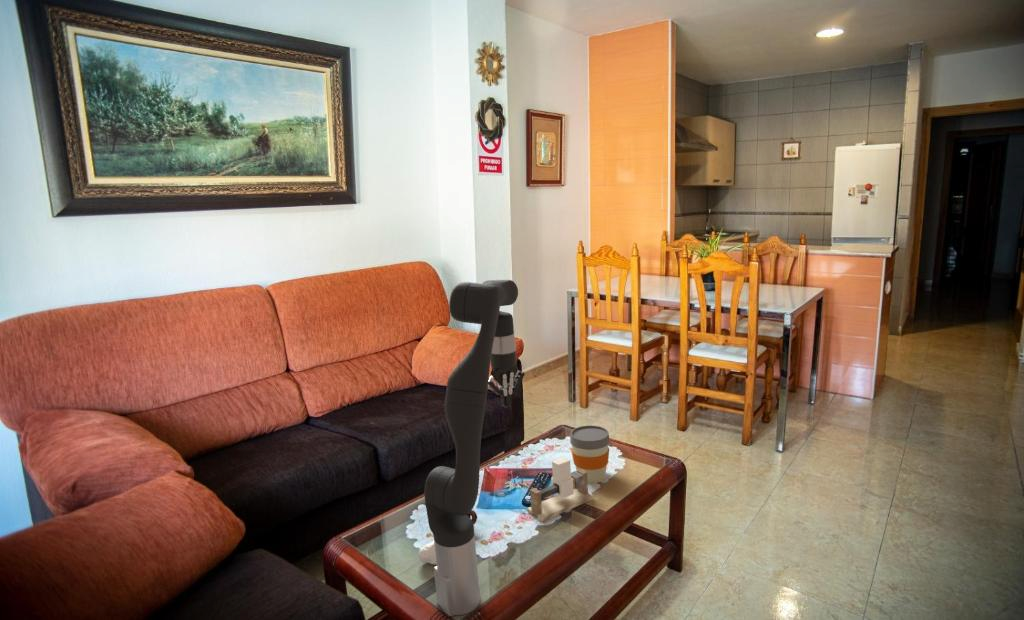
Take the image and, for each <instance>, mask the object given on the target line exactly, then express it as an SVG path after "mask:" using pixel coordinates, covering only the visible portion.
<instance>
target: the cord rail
mask: <svg viewBox="0 0 1024 620" xmlns="http://www.w3.org/2000/svg"><path fill="white" fill-rule="evenodd" d="M571 478H572V479H573V490H574V494H572V495H570V496H568V497H565V498H563V499H561V498H560V497H558V496H557V495H555V494H556V493H558V492H560V491H559V485H557V484H554V485H549V486H547V487H544V488H543V489H540V490H539V489H537V488H536V487H532V488H530V490H529V493H530V496H529V497H530V506H529V507H527V508H526V509H527V513H529V514H530V515H532V516H533V517H534V516H535V517H534V518H536V519H537V518H538V519H539V522H542V523H543V522H545V521H548V520H549V519H552V518H554V517H556V516H558V515H561V514H564V513H565V512H567V511H570V510H572V509H574V508H576V507H579V506H580V505H581V506H582V505H583V504H585V503H587V502H589V501H592V500H593V497H594V496H593V494H591V493H589V483H588V478H587V472H586V471H584V470H582V469H579V470H577V471H576V470H575V471H571ZM553 495H555V496H553ZM550 496H552V497H550ZM548 497H549V498H548ZM546 498H548V499H546ZM543 499H546V500H543ZM542 500H543V501H542ZM538 519H537V520H538ZM547 519H548V520H547Z"/></svg>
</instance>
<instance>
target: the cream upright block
mask: <svg viewBox="0 0 1024 620" xmlns="http://www.w3.org/2000/svg"><path fill="white" fill-rule="evenodd" d="M551 468H552V469H551V470H552V471H551V472H552V476H551V478H550V482H551V485H550V486H552V485H554V484H557V485H559V491H560V492H558V493H556V494H554V495H555V496H558V497H560V498H561V499H563V498H565V497H568V496H570V495H572V494H574V490H573V479H572V478H571V473H572V471H571V460H570V459H568V458H567V457H565V456H562V457H560V458H558V459H554V460H552V461H551Z"/></svg>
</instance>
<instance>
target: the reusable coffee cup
mask: <svg viewBox="0 0 1024 620" xmlns="http://www.w3.org/2000/svg"><path fill="white" fill-rule="evenodd" d="M610 441H611V440H610V435H609V431H608V429H607V428H605V427H603V426H599V425H591V424H589V425H580V426H577V427H575V428H574V429H572V430H571V431H570V439H569V443H570V444H571V449H570V450H571V456H572V461H573V465H574V466H575V471H577V470H579V469H582V470H584V471H586V472H587V478H588V484H597V483H600V482H602V481H604V480H605V478H606V472H607V465H608V464H609V457H610V456H609V455H610V448H609V445H610Z"/></svg>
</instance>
